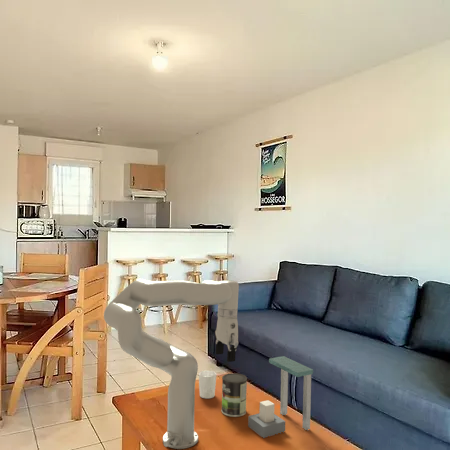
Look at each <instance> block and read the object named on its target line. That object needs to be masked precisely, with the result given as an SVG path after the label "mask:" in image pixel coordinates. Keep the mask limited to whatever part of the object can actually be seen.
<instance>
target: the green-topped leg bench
mask: <svg viewBox="0 0 450 450" xmlns="http://www.w3.org/2000/svg"><path fill="white" fill-rule="evenodd" d="M268 363H269V364H271V365H272V366H274V367H277V368H279V369H281V370H280V404H279V406H280V408H279V409H280V410H279V411H280V412H279V413H280V415H281V414H282V415H281V416H283V415H285V416H287V415H288V396H289V395H288V392H289V391H288V390H289V387H288V386H289V374H290V375H293V376H295V377H296V378H300V377H303V388H302V389H303V391H302V394H303V396H302V398H303V399H302V428H304V429H305V430H307V431H309V430H308V429H310V430H311V409H312V408H311V404H312V403H311V401H312V399H311V397H312V375H313V374H314V369H313V368H311V367H308V366H306V365H304V364H302V363H300V362H297V361H296V360H293V359H291V358H288V357H286V356H284V355H282V356H275V357H272V358H271V357H270V358H269V359H268ZM286 414H287V415H286ZM304 429H303V430H304ZM305 430H304V431H305Z"/></svg>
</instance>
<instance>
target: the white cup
mask: <svg viewBox="0 0 450 450" xmlns="http://www.w3.org/2000/svg"><path fill="white" fill-rule="evenodd" d="M216 384H217V372H215V370H208V369H207V370H201V371H200V372H198V389H199V397H200V398H202V399H213V398H214V397H215V393H216Z"/></svg>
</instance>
